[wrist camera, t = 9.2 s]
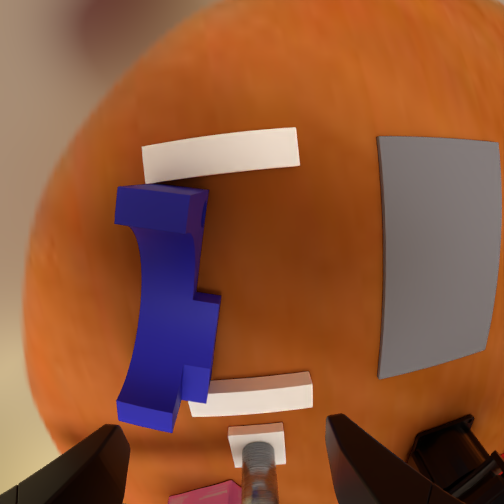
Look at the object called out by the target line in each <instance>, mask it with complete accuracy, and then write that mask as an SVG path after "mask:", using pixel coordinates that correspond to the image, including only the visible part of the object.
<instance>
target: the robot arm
mask: <svg viewBox="0 0 504 504" xmlns="http://www.w3.org/2000/svg"><path fill="white" fill-rule="evenodd" d="M473 421H474V417H473V416H472V415H469V416H466V417H464V418H461V419H459V420H456V421H454V422H451V423H448V424H445V425H443V426H440V427H437V428H434V429H431V430H428V431H425V432H422V433H420V434H419V435H418V436H417V437H416V440H415V443H414V446H413V449H412V453H411V454H410V457H409V460H408V463H405V462H404V461H403V460H401V459H400V458H399V457H397V456H396V455H395V454H394V453H392V452H391V451H390V450H388V449H387V448H386V447H384V446H383V445H382V444H381V443H379V442H378V441H377V440H375V439H374V438H373V437H372V436H370V435H369V434H368V433H367V432H365V431H364V430H363V429H362V428H360V427H359V426H358V425H357V424H355V423H354V422H353V421H352V420H350V419H349V418H348V417H347V416H346V415H344V414H342V413H340V414H334V415H329V416H327V418H326V435H325V440H326V447H327V452H328V458H329V463H330V469H331V474H332V480H333V485H334V489H335V493H336V497H337V500H338V503H339V504H504V459H503V458H502V457H501V456H500V454H499V453H498V452H497V451H496V450H495V451H494V452H493V453H492V454H491V456H490V455H489V454H488V453H487V451H486V450H485V449H484V447H483V446H482V445H481V443H480V442H479V441H478V439H477V438H476V437H475V435H474V434H473V433H472V431H471V430H470V429H471V426H472V424H473ZM129 457H130V446H129V443H128V441H127V439H126V437H125V435H124V433H123V430H122V428H121V427H120V426H119V425H113V424H105V425H103V426H102V427H100V428H99V429H98V430H96V431H95V432H93V433H92V434H91V435H89V436H88V437H86V438H85V439H84V440H82V441H81V442H79V443H78V444H77V445H75V446H74V447H72V448H71V449H69V450H68V451H66V452H65V453H64V454H62V455H61V456H59V457H58V458H56V459H55V460H53V461H52V462H50V463H49V464H47V465H46V466H45V467H43V468H42V469H40V470H39V471H37V472H35V473H34V474H33V475H31V476H29V477H28V478H27V479H25V480H23V481H22V482H20V483H19V485H15V486H14V487H12V488H11V489H9V490H8V491H6V492H4V493H3V494H1V495H0V504H122V502H123V498H124V493H125V486H126V478H127V471H128V464H129ZM501 472H503V473H502V474H501V475H498V474H500V473H501Z"/></svg>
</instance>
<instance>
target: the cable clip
mask: <svg viewBox="0 0 504 504" xmlns="http://www.w3.org/2000/svg"><path fill="white" fill-rule="evenodd" d="M208 194H209V190H206V189H199V188H191V187H183V186H175V185H167V184H158V183H156V184H143V185H131V186H120V187H118V190H117V200H116V211H115V223H114V224H119V225H126V226H129V227H130V228H131V229H132V230H133V232H134V234H135V236H136V239H137V242H138V246H139V251H140V257H141V270H142V289H141V305H140V315H139V322H138V329H137V335H136V341H135V346H134V350H133V355H132V359H131V363H130V366H129V370H128V373H127V376H126V379H125V382H124V385H123V387H122V390H121V392H120V394H119V396H118V398H117V400H116V402H117V412H118V420H119V421H122V422H126V423H130V424H134V425H138V426H142V427H146V428H151V429H155V430H160V431H165V432H170V433H172V432H173V428H174V425H175V421H176V418H177V414H178V410H179V407H180V403H181V400H186V401H192V402H198V403H204V404H206V403H207V397H208V392H209V386H210V380H211V373H212V365H213V357H214V349H215V341H216V333H217V325H218V317H219V309H220V302H221V296H220V295H214V294H207V293H201V292H196V290H197V281H198V272H199V263H200V255H201V247H202V239H203V231H204V223H205V216H206V208H207V201H208Z"/></svg>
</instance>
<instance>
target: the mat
mask: <svg viewBox="0 0 504 504" xmlns="http://www.w3.org/2000/svg"><path fill="white" fill-rule="evenodd" d="M377 146H378V157H379V168H380V180H381V196H382V216H383V304H382V325H381V340H380V352H379V364H378V374H377V377H378V379H383V378H388V377H392V376H397V375H401V374H405V373H409V372H413V371H417V370H420V369H424V368H428V367H431V366H435V365H438V364H442V363H445V362H449V361H452V360H455V359H458V358H462V357H465V356H468V355H471V354H474V353H477V352H480V351H482V350H485V348H486V343H487V339H488V334H489V329H490V324H491V319H492V313H493V307H494V300H495V294H496V286H497V278H498V269H499V258H500V243H501V218H502V193H501V168H500V155H499V144H498V143H497V142H488V141H477V140H465V139H451V138H433V137H402V136H378V137H377Z"/></svg>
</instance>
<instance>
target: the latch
mask: <svg viewBox="0 0 504 504" xmlns="http://www.w3.org/2000/svg"><path fill="white" fill-rule="evenodd" d="M122 504H124V503H122ZM241 504H279V496H278V485H277V474H276V463H275V452H274V448H273V447H272V446H271V445H270V444H268V443H265V442H253V443H250V444H248V445H246V446H245V447H244V448H243V450H242V495H241Z"/></svg>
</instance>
